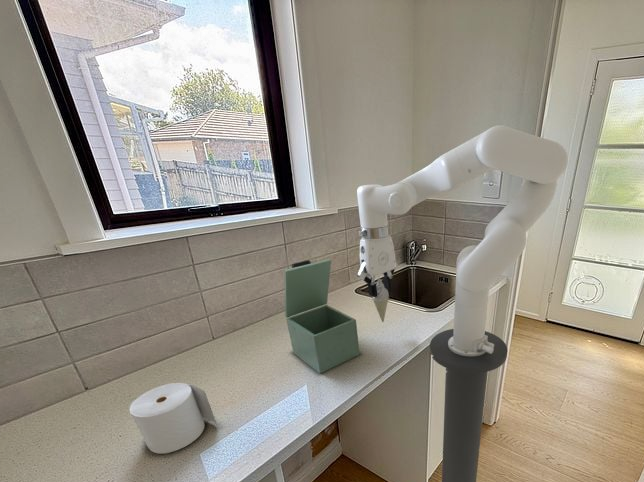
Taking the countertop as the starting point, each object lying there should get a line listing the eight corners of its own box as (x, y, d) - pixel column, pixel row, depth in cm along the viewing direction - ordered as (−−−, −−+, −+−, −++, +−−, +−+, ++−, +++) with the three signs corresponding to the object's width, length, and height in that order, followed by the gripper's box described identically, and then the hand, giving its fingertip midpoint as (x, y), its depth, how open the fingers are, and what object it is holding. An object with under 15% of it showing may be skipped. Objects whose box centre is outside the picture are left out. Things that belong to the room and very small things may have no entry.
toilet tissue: (141, 437, 73) (122, 401, 68) (200, 407, 81) (187, 373, 76) (157, 463, 66) (137, 425, 62) (219, 428, 74) (206, 392, 70)
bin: (359, 354, 101) (356, 319, 96) (320, 373, 92) (313, 336, 87) (331, 336, 111) (326, 304, 106) (293, 352, 102) (286, 318, 97)
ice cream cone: (391, 324, 103) (387, 278, 96) (374, 326, 103) (369, 280, 96) (390, 317, 108) (387, 273, 101) (375, 318, 107) (370, 274, 101)
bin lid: (331, 260, 95) (321, 251, 97) (285, 271, 86) (276, 261, 88) (327, 304, 105) (318, 294, 107) (286, 317, 97) (277, 307, 99)
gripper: (358, 240, 85) (365, 305, 93) (406, 228, 96) (409, 288, 104) (341, 236, 90) (350, 298, 98) (388, 226, 100) (392, 283, 109)
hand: (380, 292), depth 101 cm, fingers closed on ice cream cone, 4 cm apart
